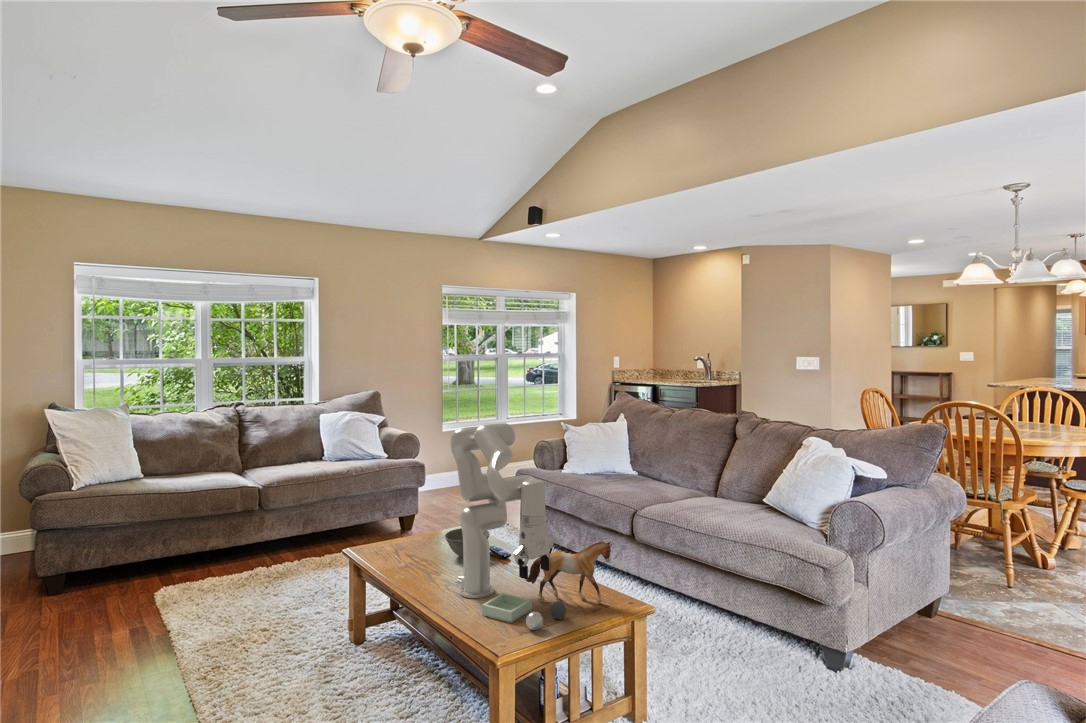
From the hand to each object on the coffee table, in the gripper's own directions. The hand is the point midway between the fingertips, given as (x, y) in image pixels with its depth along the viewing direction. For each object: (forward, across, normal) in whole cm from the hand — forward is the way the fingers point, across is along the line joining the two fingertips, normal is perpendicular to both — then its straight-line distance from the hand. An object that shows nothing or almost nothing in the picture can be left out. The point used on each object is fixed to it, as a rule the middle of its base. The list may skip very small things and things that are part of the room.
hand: (534, 573), depth 203 cm
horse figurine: (+18, +27, +9) cm, 34 cm away
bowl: (+17, +32, +70) cm, 79 cm away
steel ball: (+18, 0, 0) cm, 18 cm away
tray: (+18, +3, +16) cm, 24 cm away
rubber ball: (+18, +11, 0) cm, 21 cm away
